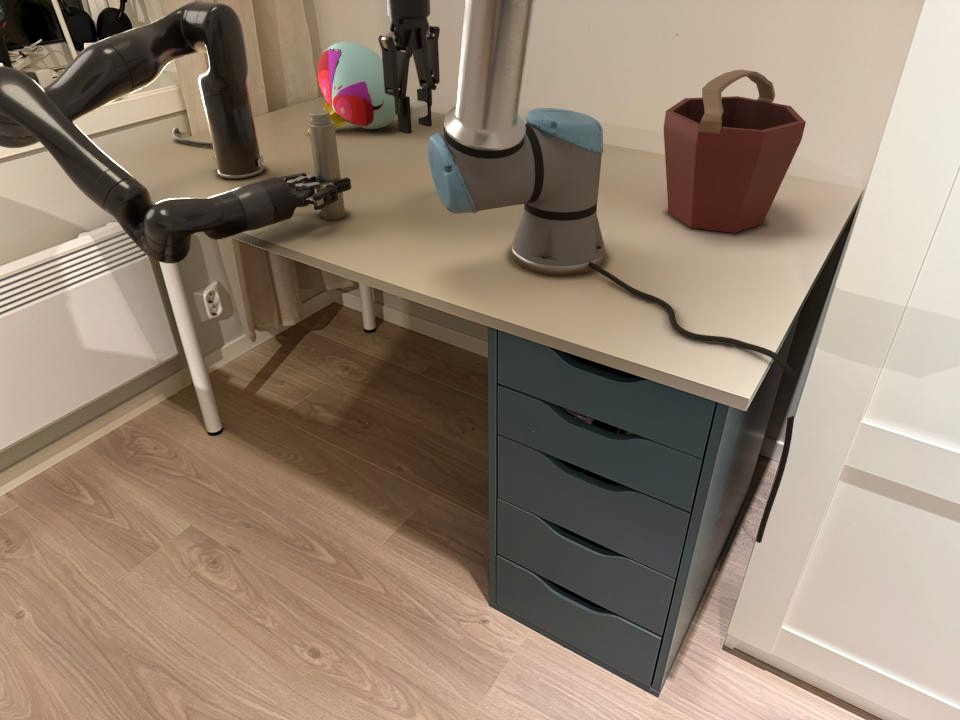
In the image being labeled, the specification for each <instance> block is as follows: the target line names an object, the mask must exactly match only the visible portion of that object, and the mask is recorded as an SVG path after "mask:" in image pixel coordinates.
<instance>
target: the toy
mask: <svg viewBox="0 0 960 720" xmlns="http://www.w3.org/2000/svg"><path fill="white" fill-rule="evenodd" d="M317 81H318V85H319V88H320V91H321V93H322V95H323V97H324V99H325V102H324V108H323V109H322V110H327V111H329V112H330V116H331V117H330V120H332V121H334V127H335V129H336V128H339V127H342V126H345V125H347V124H351V125H353V126H356V127H358V128H361V129H366V130H378V129H382V128H384V127H386V126H388V125H390V124H391V123H392V122H393V121H394V120H395V118H396V117H397V115H396V113H395V102H394V97H393V96H392V95H388V94H385V89H384V75H383V61H382V56H380V55H379V54H378V53H376V52H375V51H374V50H372V49H370V48H369V47H367V46H365V45H362V44H360V43H357V42H353V41H352V42H351V41H341V42H337V43H336V42H335V43H334V44H332V45H330V46H329V47H327V48H326V49H325V50H324V51H323V52H322V54H321V56H320V58H319V61H318V64H317ZM307 132H308V133H309V129H307Z"/></svg>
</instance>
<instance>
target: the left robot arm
mask: <svg viewBox="0 0 960 720" xmlns="http://www.w3.org/2000/svg"><path fill="white" fill-rule="evenodd" d="M239 17H240V16H239V15H238V14H237V12H236V11H235V10H234V8H233V7H231V6H229V5H228V4H225V3H220V2H212V1H198V0H197V1H196V0H195V1H191V2H188V3H185V4H184V5H182V6H180V7H178V8H176V9H175V10H173V11H171V12H169V13H167V14H166V15H165V16H163V17H161V18H159V19H157V20H155V21H153V22H151V23H148V24H143V25H141V26H137V27H134V28H131V29H128V30H125V31H123V32H120V33H117V34H113V35H111V36H108V37H106V38H104V39H101V40H99V41H95V42H94V43H92V44H89V45H88V46H86V47H85V48H83V50H81V52H79V53H78V54H77V55H76V57H74V58H73V60H72V61H70V63H68V65H67V66H66V67H65V68H64V69H63V71H62V72H61V73H60V74H59V75H58V76H57V78H55V80H53V81H52V82H51V83H49V84H48V85H47V86H44V87H41V86H40V85H39V83H37V82H36V80H34V79H33V78H32V77H30V75H28V74H26V73H25V72H24V71H21V70H19V69H16V68H14V67H9V66H4V65H0V147H1V148H7V149H22V148H27V147H30V146H34V145H36V144H38V143H40V144H41V145H42V146H43V147H44V148H45V149H46V150H47V151H48V152H49V154H50V155H51V157H53V159H54V160H55V162H56V163H57V164H58V166H60V168H61V169H62V170H63V172H64V173H65V175H66V176H67V177H68V178H69V179H70V181H71V182H72V183H73V184H74V186H75V187H77V189H79V191H80V192H81V193H83V194H84V195H85V196H86V197H87V198H88V199H89V200H91V201H92V202H93V204H95V205H96V206H98V207H99V208H100V209H102V210H103V211H104V212H106V213H107V214H108V215H110V217H112V218H113V219H114V220H115V221H116V222H117V223H118V225H119V226H120V227H121V228H122V230H123V231H124V232H125V233H126V234H127V236H128V237H129V238H130V239H131V241H132V242H134V244H135V245H136V246H137V247H138V249H140V250H141V251H142V253H144V254H145V255H147V256H148V257H149V258H150V259H152V260H155V261H157V262H159V263H162V264H177V263H180V262H182V261H183V260H185V258H186V257H187V256H188V254H189V252H190V249H191V242H192V235H194V234H197V233H204V234H205V235H206V237H208V238H209V239H210V240H216V241H217V240H223V239H227V238H230V237H232V236H236V235H238V234H242V233H245V232H249V231H256V230H259V229H263V228H266V227H268V226H271V225H274V224H277V223H278V224H279V223H280V222H284V221H287V220H289V219H292V217H293V216H294V214H295V211H296V209H297V208H305V207H309V205H310V206H313V209H314V210H315V211H321V210H320V209H322V208H324V207H326V206H328V205H330V204H332V203H334V202H335V201H337V200H338V193H341V192H343V193H345V192H347V191H350V190H351V189H352V183H351V181H352V180H351V179H350V178H349V177H347V176H346V177H343V178H342V177H341V179H339V180H336V181H332V182H329V183H323V184H320V183H319V182H316V175H315V173H314V174H313V173H311V174H307V172H300V173H294V174H289V175H283V176H272V177H268V178H265V179H262V180H257V181H254V182H252V183H251V182H250V183H247V184H244V185H241V186H238V187H236V188H233V189H231V190H227V191H225V192H222V193H218V194H215V195H211V196H208V197H179V198H177V197H174V198H167V199H163V200H159V201H157V202H155V203H154V204H153V202H152V198H151V194H150V192H149V190H148V188H147V187H146V186H145V185H144V184H143V183H142V182H141V181H139V180H138V179H137V178H136V177H135V176H133V175H132V174H131V173H130V172H128V171H127V170H126V169H125V168H124V167H122V166H121V165H120V164H118V163H117V162H116V161H115V160H114V159H112V158H111V157H110V156H109V155H108V154H106V153H105V152H104V151H103V150H102V149H101V148H100V147H99V146H97V145H96V144H95V142H93V140H91V139H90V137H88V136H87V135H86V134H85V133H84V132H83V131H82V130H81V129H80V128H79V127H78V125H76V124H75V122H74V121H76V120H78V119H80V118H82V117H83V116H85V115H87V114H89V113H92V112H94V111H96V110H97V109H100V108H101V107H103V106H105V105H108V104H109V103H111V102H113V101H116V100H118V99H121V98H123V97H126V96H128V95H131V94H133V93H135V92H137V91H139V90H141V89H143V88H145V87H147V86H149V85H150V84H151V83H153V82H155V80H157V79H158V77H160V75H161V74H162V72H163V70H164V69H165V68H166V66H167V65H168V64H170V63H171V62H173V61H175V60H178V59H181V58H183V57H186V56H190V55H193V54H207V58H208V66H209V68H208V70H207V71H206V72H204V73H202V74H200V75H199V77H198V85H199V91H200V94H201V99H202V104H203V108H204V112H205V116H206V117H205V118H206V122H207V126H208V131H209V135H210V140H211V142H210V141H209V142H207V141H198V140H194V139H187V138H181V137H178V136H177V134H178V133H180V130H179V128H178V127H176V126H175V127H174V128H172V131H171V136H172V139H174V141H176V142H179V143H183V144H184V143H185V144H191V145H195V146H203V147H212V148H213V152H214V158H215V162H216V167H217V174H218V176H219V177H221V178H223V179H224V178H225V179H229V180H231V179H232V180H234V179H236V180H237V179H238V180H239V179H246V178H252V177H254V176H257V175H260V174H261V173H262V172H263V171H264V165H263V163H264V161H265V160H264V157H263V156H264V155H261V151H260V146H259V141H258V135H257V131H256V125H255V120H254V114H253V109H252V103H251V97H250V93H249V92H250V91H249V87H248V82H247V81H248V75H249V65H248V64H249V63H248V56H247V49H246V41H245V34H244V29H243V25H242V22H241V20H240V18H239ZM323 188H326V189H324V190H322V189H323Z"/></svg>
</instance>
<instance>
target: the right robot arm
mask: <svg viewBox="0 0 960 720" xmlns="http://www.w3.org/2000/svg"><path fill="white" fill-rule="evenodd" d="M385 1H386V2H385V3H386V15H387V16H388V17H389V19H390V26H389V32H387V34H385V35H379V36H378V39H377V40H378V43H379V47H380V49H381V58H382V61H383V75H384V89H385V94H388V95H392V96H393V97H394V102H395V113H396V117H397V130H398V133H399V132H400V133H403V134H406V135H407V134H408V135H410V134H412V133H413V132H412V118H411V112H410V101H411V99H410V96H407V90H408V79H409V70H410V61H411V58H412V57H413V62H414V66H415V70H416V75H417V80H418V83H419V87H420V88H417V89H416V98H417V99H416V100H419V101H424V102H426V103H427V107H428V115H427V116H425V117H422V118H417V120H418V125H420V126H424V127H427V128H428V127H429V128H430V127H432V125H433V123H432V106H433V91H436V90H437V87H438V86H437V85H439V83H440V81H441V77H440V54H439V53H440V52H439V38H440V32H441V29H440V26H435V25H430V24H429V20H428V17H429V16H431V0H385ZM463 4H464V5H463V16H462V18H463V19H462V29H461V39H460V40H461V42H460V52H459V64H458V65H459V67H458V77H457V78H458V79H457V91H456V101H455V103H456V104H455V106H454V107H452V108H450V110H449V111H448V112H447V113H446V114H445V116H444V120H443V130H442V131H443V132H442V133H440V132H436V133H435V134H431V136H430V137H429V138H428V142H427V156H428V163H429V168H430V173H431V178H432V181H433V184H434V187H435V190H436V194H437V195H438V198H439V200H440V202H441V204H442V205H443V206H444V208H445V209H446V210H447V211H448V212H449V213H451V214H468V213H469V214H470V213H472V214H476V213H478V212H481V211H482V212H483V211H487V210H494V209H501V208H508V207H513V206H519V205H523V212H522V215H521V218H520V220H519V224H518V226H517V229H516V232H515V234H514V237H513V240H512V243H511V244H512V245H511V257H512V259H513V261H514V262H515V263H516V264H517V265H519V267H521V268H524V269H526V270H528V271H530V272H532V273H533V272H534V273H537V274H541V275H547V276H558V277H559V276H560V277H561V276H573V275H574V276H575V275H580V274H584V273H588V272H590V271H593V270H594V271H596V272H597V273H598V274H600V275H602V276H604V277H605V278H607V279H609V280H610V281H612V282H613V283H615V284H616V285H618V286H619V287H620V288H622V289H624V290H625V291H627V292H629V293H631V294H632V295H635V296H637V297H639V298H642V299H645V300H648V301H650V302H652V303H656V304H657V305H659V306H661V307H662V308H663V309H664V310H665V311H666V312H667V313H668V316H669V321H670V324H671V326H672V328H673V330H674V331H676V332H677V333H678V334H680V335H682V336H684V337H686V338H689V339H693V340H697V341H703V342H711V343H722V344H729V345H733V346H736V347H739V348H743V349H745V350H748V351H752V352H756V353H760V354H762V355H764V356H767V357H769V358H771V359H772V360H774V361H775V362H776V363H777V364H778V365H779V366H780V367H781V368H782V370H783V371H784V373H785V374H786V376H787V377H788V378H790V379H796V374H795V373H794V371H793V369H792V368H791V366H790V365H789V363H788V362H787V361H786V360H785V359H784V358H783V357H782V356H781V355H779V354H778V353H776V351H775V352H774V351H773V350H771V349H769V348H765V347H763V346H760V345H756V344H752V343H750V342H745V341H742V340H741V339H736V338H732V337H728V336H719V335H718V336H717V335H708V334H707V335H706V334H699V333H695V332H692V331H689V330H686V329H685V328H683V327H682V326H681V325H679V322H678V321H677V318H676V313H675V310H674V309H673V307H672V306H671V304H669V303H668V302H667V301H665V300H663V299H661V298H659V297H657V296H655V295H652V294H649V293H646V292H644V291H642V290H639V289H636V288H634V287H632V286H631V285H628V284H627V283H626V282H624V281H623V280H622V279H620V278H618V277H617V276H615V275H613V274H612V273H611V272H609V271H607V270H606V269H604V268H602V267H601V266H600V265H601V264H602V263H603V261H604V258H605V249H606V247H605V242H604V239H603V233H602V230H601V226H600V222H599V218H598V213H597V212H598V199H599V188H600V179H601V178H600V177H601V167H602V159H603V154H604V129H603V126H602V124H601V123H600V121H598V119H596V118H595V117H592V116H590V115H589V114H585V113H583V112H579V111H574V110H568V109H563V108H562V109H561V108H553V107H538V108H533V109H530V110H529V111H528V112H527V113H526V115H525V118H524V119H525V121H524V120H523V118H522V117H521V115H519V110H520V103H521V96H522V90H523V84H524V77H525V70H526V64H527V58H528V52H529V51H528V50H529V45H530V39H531V33H532V26H533V20H534V15H535V14H534V13H535V7H536V0H464V3H463ZM794 423H795V415H792V416H789V417H787V418H786V427H785V433H784V434H785V435H784V442H783V446H782V452H781V456H780V460H779V464H778V467H777V471H776V475H775V478H774V480H773V484H772V487H771V489H770V490H771V491H770V492H769V495H768V498H767V502H766V505H765V507H764V511H763V514H762V516H761V520H760V523H759V527H758V530H757V535H756V538H755V542H756V543H759V544H760V543H762V541H763V538H764V533H765V531H766V528H767V524H768V521H769V517H770V514H771V511H772V509H773V506H774V503H775V500H776V497H777V495H778V491H779V488H780V485H781V482H782V480H783V477H784V473H785V469H786V465H787V461H788V458H789V453H790V449H791V444H792V439H793V430H794Z"/></svg>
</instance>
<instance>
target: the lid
mask: <svg viewBox="0 0 960 720" xmlns="http://www.w3.org/2000/svg"><path fill="white" fill-rule="evenodd" d="M410 112H411V119H418V118H422V117H425V116H427V115H428V107H427V103H426V102H424V101H419V100H417V99H416V100H415V99H413V100H411V99H410Z"/></svg>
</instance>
